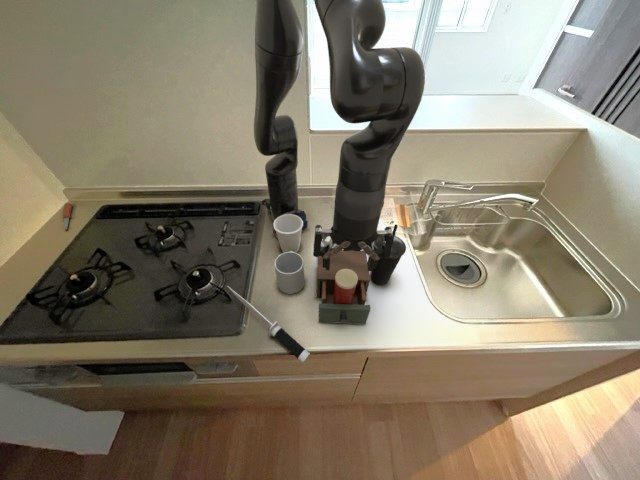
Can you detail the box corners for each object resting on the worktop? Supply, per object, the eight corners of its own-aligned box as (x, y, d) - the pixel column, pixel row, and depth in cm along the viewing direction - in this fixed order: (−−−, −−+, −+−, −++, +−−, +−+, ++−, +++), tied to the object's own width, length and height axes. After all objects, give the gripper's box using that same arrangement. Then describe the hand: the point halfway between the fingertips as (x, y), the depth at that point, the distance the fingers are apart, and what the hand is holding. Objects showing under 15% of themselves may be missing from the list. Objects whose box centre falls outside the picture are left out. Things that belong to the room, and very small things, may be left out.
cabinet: (364, 299, 67) (370, 280, 61) (316, 298, 67) (317, 278, 61) (361, 270, 74) (365, 250, 67) (317, 269, 74) (318, 249, 67)
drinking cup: (387, 266, 75) (405, 213, 61) (397, 287, 70) (419, 235, 55) (362, 269, 74) (374, 216, 60) (370, 291, 69) (386, 239, 54)
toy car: (271, 221, 78) (281, 233, 76) (303, 207, 84) (313, 217, 81) (272, 234, 83) (281, 245, 80) (302, 219, 88) (312, 229, 86)
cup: (276, 294, 67) (272, 273, 61) (280, 264, 74) (277, 243, 68) (303, 295, 67) (302, 274, 61) (305, 265, 74) (304, 244, 68)
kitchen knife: (73, 204, 92) (66, 206, 91) (70, 201, 91) (63, 203, 90) (71, 230, 82) (63, 232, 82) (68, 226, 81) (60, 229, 81)
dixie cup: (307, 240, 81) (306, 216, 74) (298, 260, 76) (297, 236, 68) (282, 235, 83) (279, 211, 76) (272, 254, 77) (268, 229, 70)
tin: (328, 304, 63) (330, 275, 55) (343, 294, 65) (347, 265, 57) (340, 319, 61) (345, 290, 52) (355, 308, 63) (362, 279, 54)
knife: (308, 357, 58) (311, 350, 54) (301, 366, 56) (304, 359, 52) (232, 288, 66) (230, 277, 62) (224, 294, 64) (221, 284, 61)
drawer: (366, 328, 60) (371, 314, 55) (318, 327, 60) (318, 313, 55) (362, 293, 67) (366, 278, 62) (319, 292, 67) (319, 276, 62)
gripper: (398, 191, 43) (380, 254, 55) (314, 188, 43) (314, 253, 55) (408, 220, 38) (386, 284, 50) (312, 217, 38) (312, 281, 50)
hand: (348, 267), depth 52 cm, fingers open, 8 cm apart
